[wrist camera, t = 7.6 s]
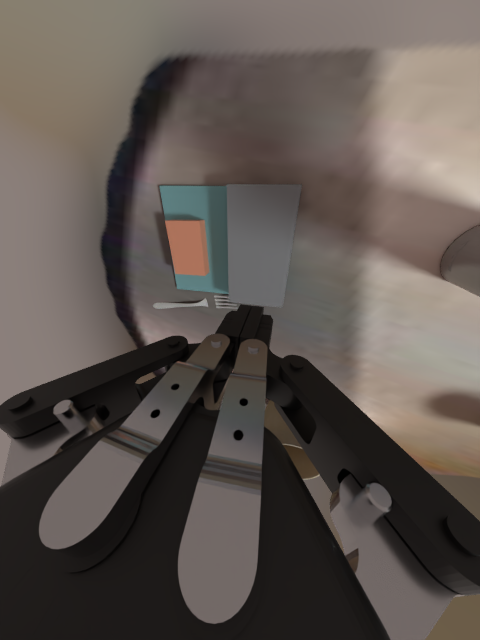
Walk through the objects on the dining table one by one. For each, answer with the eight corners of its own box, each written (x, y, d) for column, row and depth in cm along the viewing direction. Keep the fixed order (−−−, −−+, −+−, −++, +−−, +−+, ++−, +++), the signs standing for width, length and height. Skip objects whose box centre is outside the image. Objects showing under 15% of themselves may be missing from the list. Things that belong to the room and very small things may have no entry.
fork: (140, 300, 45) (135, 303, 44) (237, 292, 39) (235, 296, 37) (146, 311, 47) (141, 315, 45) (239, 306, 40) (238, 310, 39)
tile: (165, 220, 31) (172, 219, 33) (175, 273, 36) (181, 270, 38) (199, 221, 30) (204, 219, 32) (205, 275, 35) (209, 271, 37)
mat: (231, 186, 29) (230, 186, 29) (232, 293, 39) (231, 294, 38) (161, 185, 31) (159, 185, 31) (178, 287, 41) (177, 288, 40)
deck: (299, 186, 27) (302, 184, 24) (282, 298, 37) (282, 307, 34) (233, 186, 29) (226, 184, 26) (233, 293, 39) (228, 301, 35)
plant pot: (302, 419, 56) (307, 486, 43) (254, 404, 57) (244, 465, 44) (324, 389, 48) (339, 460, 34) (267, 372, 49) (261, 435, 35)
